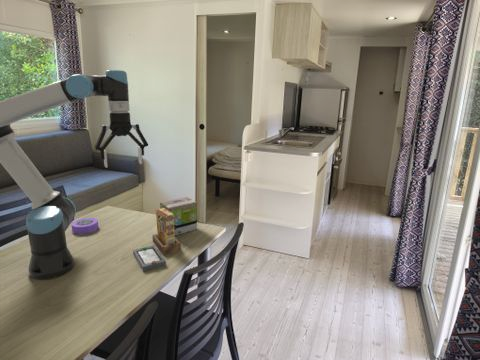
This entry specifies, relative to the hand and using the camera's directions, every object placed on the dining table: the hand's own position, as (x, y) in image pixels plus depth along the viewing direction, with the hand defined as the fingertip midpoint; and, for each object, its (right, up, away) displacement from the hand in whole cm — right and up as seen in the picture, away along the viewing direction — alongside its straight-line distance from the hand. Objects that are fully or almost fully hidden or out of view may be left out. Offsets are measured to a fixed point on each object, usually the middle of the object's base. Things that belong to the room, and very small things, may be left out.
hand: (123, 165), depth 135 cm
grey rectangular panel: (+10, -38, 0) cm, 39 cm away
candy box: (+15, -34, +11) cm, 39 cm away
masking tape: (-28, -30, +27) cm, 49 cm away
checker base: (+10, -38, 0) cm, 40 cm away
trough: (+15, -35, +12) cm, 40 cm away
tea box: (+17, -31, +28) cm, 45 cm away
